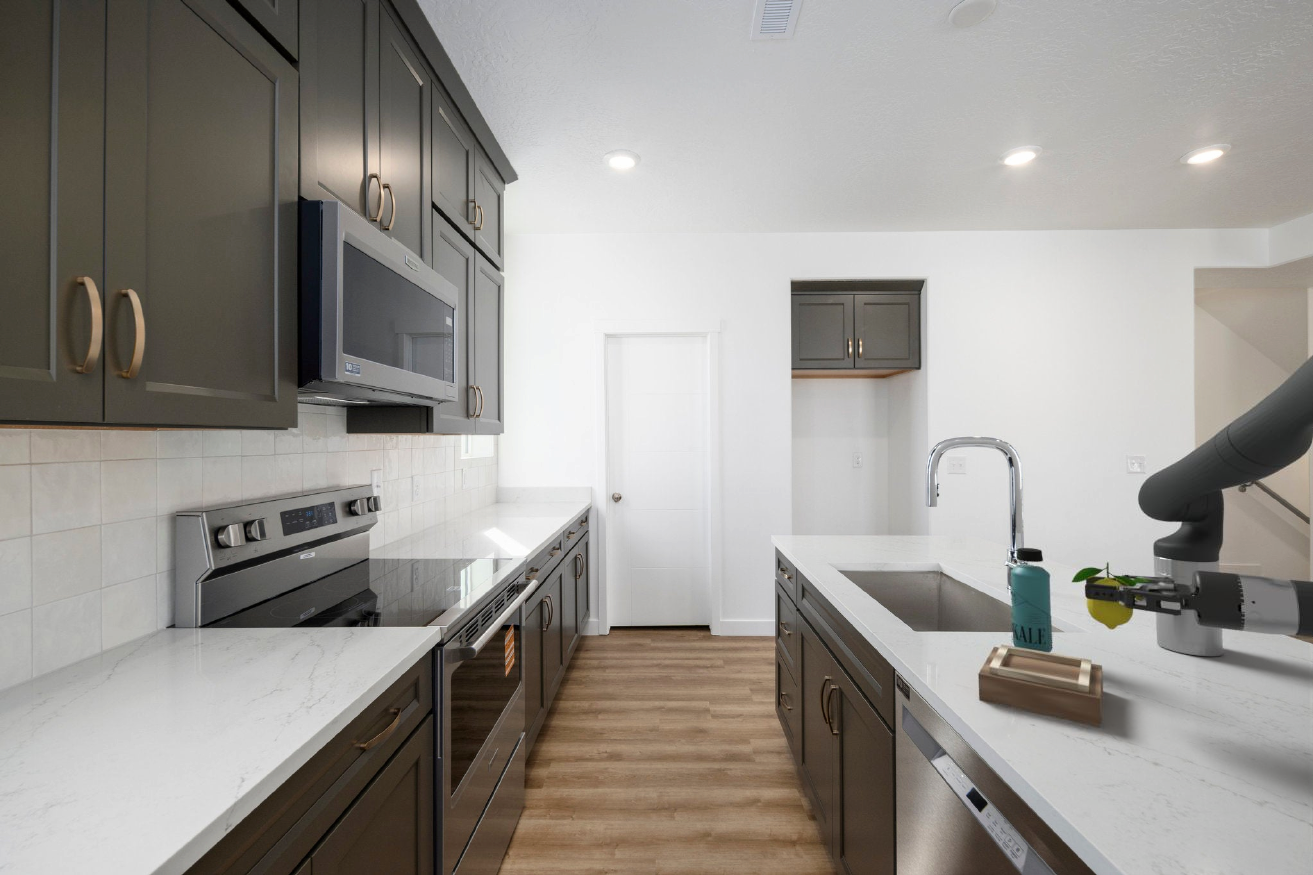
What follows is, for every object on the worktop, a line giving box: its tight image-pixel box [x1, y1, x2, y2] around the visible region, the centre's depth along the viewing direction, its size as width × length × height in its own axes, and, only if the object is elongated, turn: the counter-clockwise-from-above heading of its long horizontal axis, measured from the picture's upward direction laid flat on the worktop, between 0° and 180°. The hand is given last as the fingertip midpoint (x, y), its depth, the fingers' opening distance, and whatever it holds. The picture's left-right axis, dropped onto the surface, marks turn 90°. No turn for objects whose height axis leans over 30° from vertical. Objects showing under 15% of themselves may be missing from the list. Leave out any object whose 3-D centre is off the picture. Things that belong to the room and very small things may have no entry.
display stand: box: [977, 644, 1104, 728], centre depth 90 cm, size 15×15×5 cm
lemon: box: [1071, 562, 1137, 630], centre depth 86 cm, size 7×6×10 cm
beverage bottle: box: [1010, 547, 1054, 653], centre depth 107 cm, size 6×7×20 cm
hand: (1086, 586), depth 87 cm, fingers closed on lemon, 5 cm apart
